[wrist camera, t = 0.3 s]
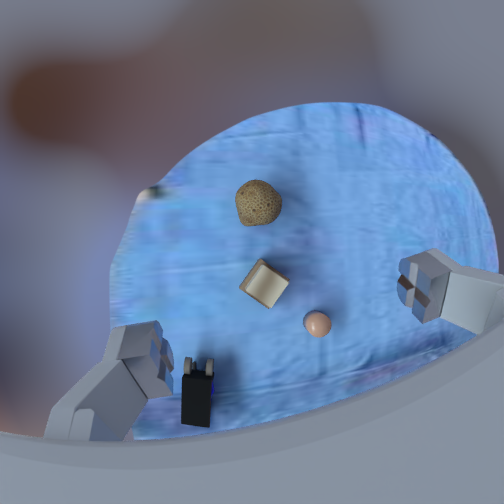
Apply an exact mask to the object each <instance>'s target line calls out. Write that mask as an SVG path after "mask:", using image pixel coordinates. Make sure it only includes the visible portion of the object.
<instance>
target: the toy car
mask: <svg viewBox="0 0 504 504" xmlns="http://www.w3.org/2000/svg"><path fill="white" fill-rule="evenodd" d="M213 365H214V359H207V363H206V368H205V371H200V370H196V363H195V361H194V362H193V363H192V358H190V357H186V358H185V361H184V375H183V377H182V404H181V424H186V425H193V426H200V427H208V428H209V427H210V409H211V400H212V399H211V396H212V394H213V393H214V386H213V377H214V372H213Z"/></svg>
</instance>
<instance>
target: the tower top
mask: <svg viewBox="0 0 504 504" xmlns="http://www.w3.org/2000/svg"><path fill="white" fill-rule="evenodd" d="M288 283H289V282H287V281H286V280H284V279H283V278H281V277H280V276H279V275H277V274H276V273H274V272H273V271H272V270H270V269H269V268H267V267H266V266H264V265H261V266H260V267H259V269H258V270H257V272H256V273H255V274H254V276H253V277H252V279H251V280H250V281H249V283H248V284H247V286H246V287H245V290H246V291H247V292H248V293H250V294H251V295H253V296H254V297H256V298H257V299H258V300H260V301H261V302H263V303H264V304H266V305H267V306H269V307H270V308H272V306H273V305H274V303H275V302H276V301H277V299H278V298H279V296H280V295H281V293H282V292H283V291H284V289H285V288H286V286H287V285H288Z"/></svg>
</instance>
